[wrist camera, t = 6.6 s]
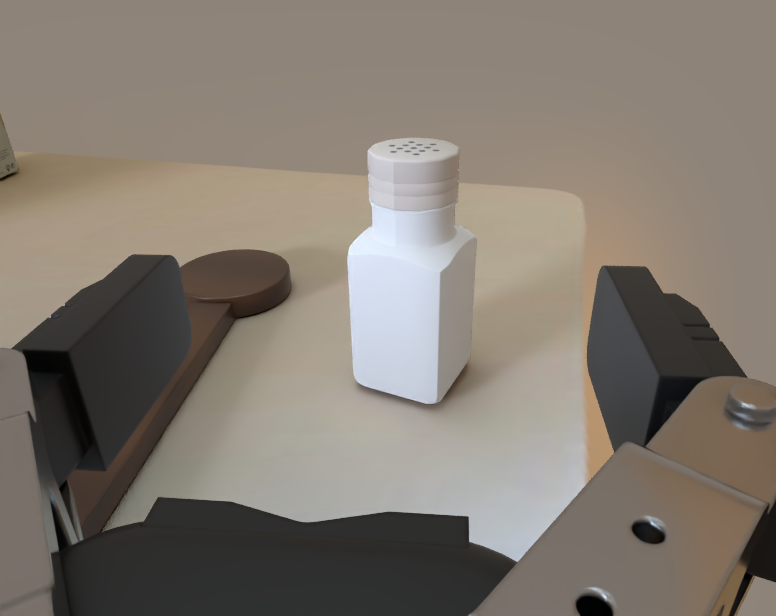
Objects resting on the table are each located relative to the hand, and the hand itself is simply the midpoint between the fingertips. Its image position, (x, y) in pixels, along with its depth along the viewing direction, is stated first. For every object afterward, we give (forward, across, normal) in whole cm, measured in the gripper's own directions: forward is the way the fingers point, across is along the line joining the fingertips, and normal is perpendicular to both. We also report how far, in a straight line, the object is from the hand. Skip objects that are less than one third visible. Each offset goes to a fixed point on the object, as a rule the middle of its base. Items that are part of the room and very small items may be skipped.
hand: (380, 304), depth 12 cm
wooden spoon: (+11, +10, +9) cm, 18 cm away
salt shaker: (+11, 0, +10) cm, 15 cm away
